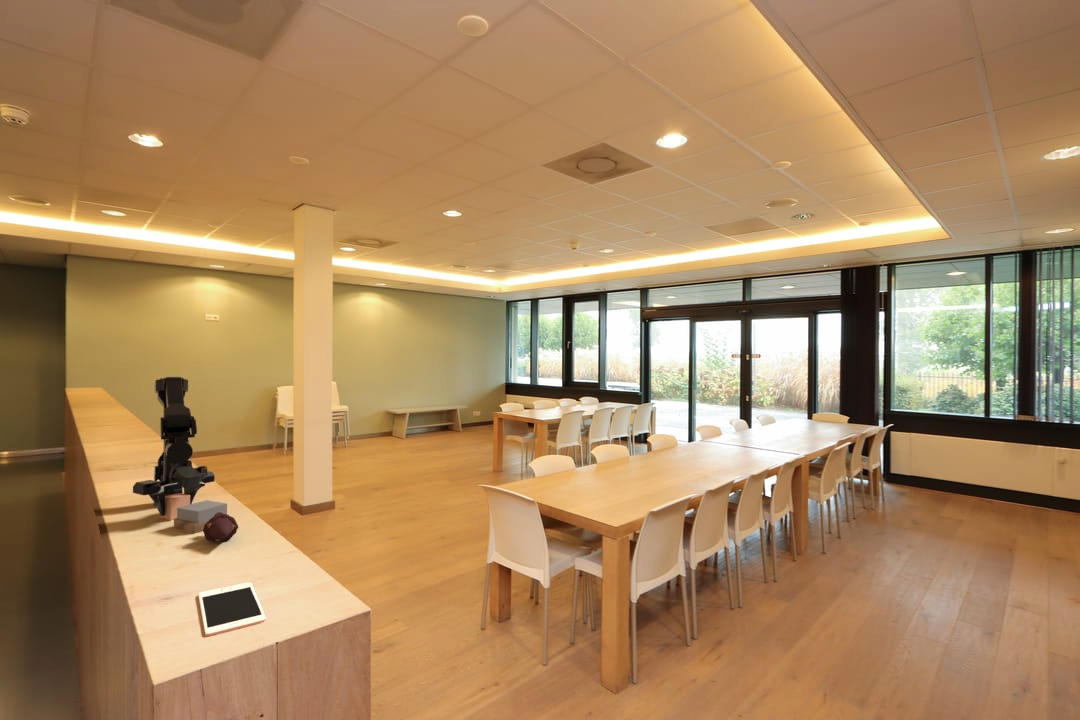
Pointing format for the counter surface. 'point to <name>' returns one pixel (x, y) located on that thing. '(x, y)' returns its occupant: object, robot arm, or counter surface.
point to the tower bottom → (189, 525)
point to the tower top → (201, 511)
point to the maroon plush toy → (220, 528)
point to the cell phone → (230, 608)
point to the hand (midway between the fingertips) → (175, 512)
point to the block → (174, 504)
